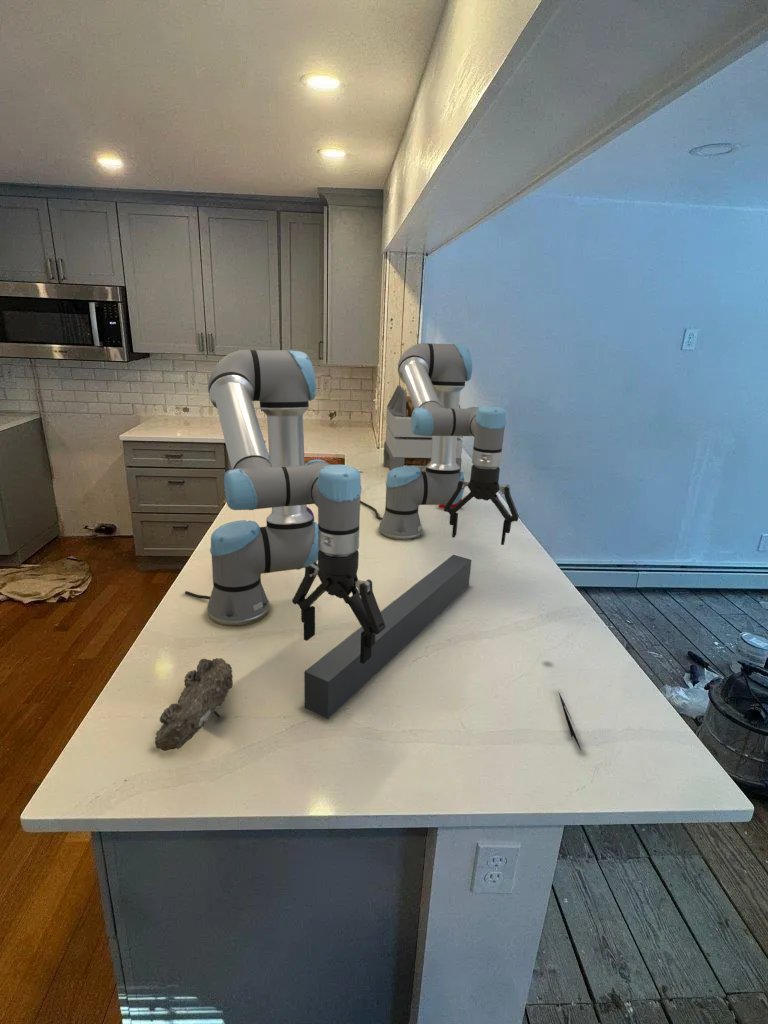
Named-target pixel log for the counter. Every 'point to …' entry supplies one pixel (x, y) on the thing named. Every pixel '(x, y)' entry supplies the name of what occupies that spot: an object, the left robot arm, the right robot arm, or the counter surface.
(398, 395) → the grey storage crate
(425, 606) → the bar
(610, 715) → the counter surface
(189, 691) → the fossil
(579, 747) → the feather
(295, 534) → the left robot arm
